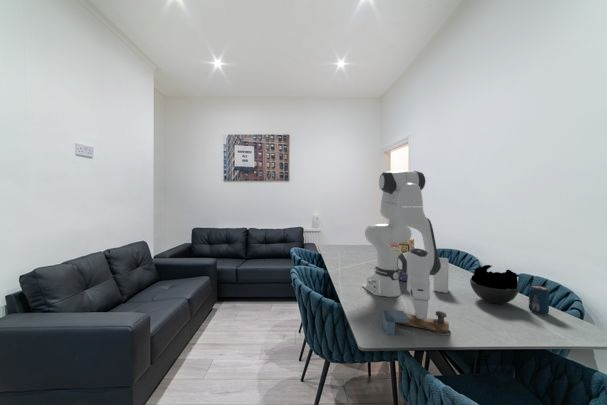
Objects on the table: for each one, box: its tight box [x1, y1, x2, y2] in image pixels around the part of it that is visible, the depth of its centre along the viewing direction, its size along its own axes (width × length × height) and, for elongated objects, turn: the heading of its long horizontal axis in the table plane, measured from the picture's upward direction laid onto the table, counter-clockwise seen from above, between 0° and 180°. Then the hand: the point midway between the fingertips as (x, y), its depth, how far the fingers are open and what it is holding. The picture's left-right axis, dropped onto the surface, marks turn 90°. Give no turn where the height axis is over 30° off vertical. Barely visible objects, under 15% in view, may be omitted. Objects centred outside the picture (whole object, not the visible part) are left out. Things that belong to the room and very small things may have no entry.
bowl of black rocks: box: [469, 264, 520, 305], centre depth 129 cm, size 20×20×19 cm
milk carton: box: [433, 257, 449, 294], centre depth 146 cm, size 7×7×19 cm
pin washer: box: [431, 329, 452, 336], centre depth 102 cm, size 7×7×1 cm
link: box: [395, 310, 450, 333], centre depth 105 cm, size 21×6×7 cm, turn 65°
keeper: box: [381, 310, 409, 335], centre depth 102 cm, size 8×7×6 cm
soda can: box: [528, 284, 550, 316], centre depth 118 cm, size 7×7×12 cm
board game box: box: [388, 238, 415, 283], centre depth 167 cm, size 20×6×27 cm, turn 46°
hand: (417, 319), depth 108 cm, fingers closed
